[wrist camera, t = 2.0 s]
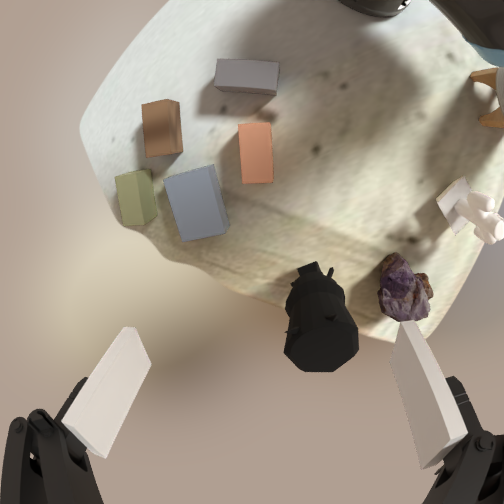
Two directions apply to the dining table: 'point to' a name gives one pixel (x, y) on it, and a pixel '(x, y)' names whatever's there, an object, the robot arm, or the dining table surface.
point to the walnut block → (162, 128)
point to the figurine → (471, 211)
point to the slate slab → (197, 203)
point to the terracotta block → (256, 153)
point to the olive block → (136, 197)
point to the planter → (499, 81)
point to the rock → (403, 291)
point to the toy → (319, 322)
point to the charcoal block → (247, 76)
